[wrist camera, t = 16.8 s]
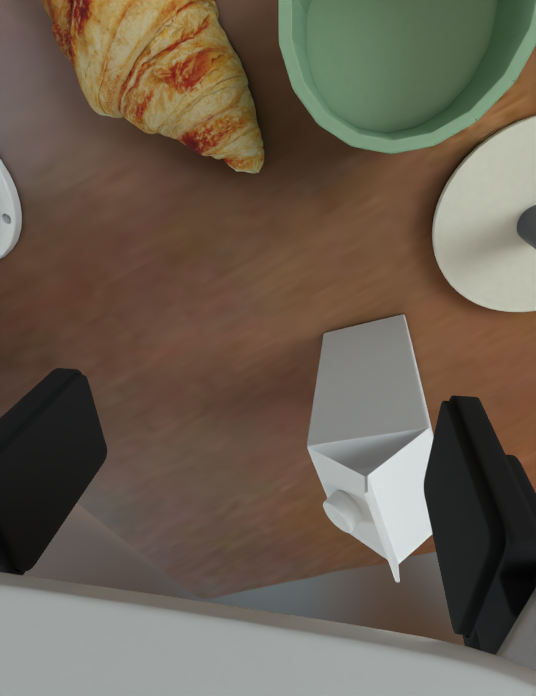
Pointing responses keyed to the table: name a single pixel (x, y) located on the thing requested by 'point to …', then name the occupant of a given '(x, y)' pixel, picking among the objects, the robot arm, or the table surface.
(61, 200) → the table surface
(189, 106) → the croissant
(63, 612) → the robot arm
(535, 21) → the bowl
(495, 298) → the lid
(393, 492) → the milk carton
